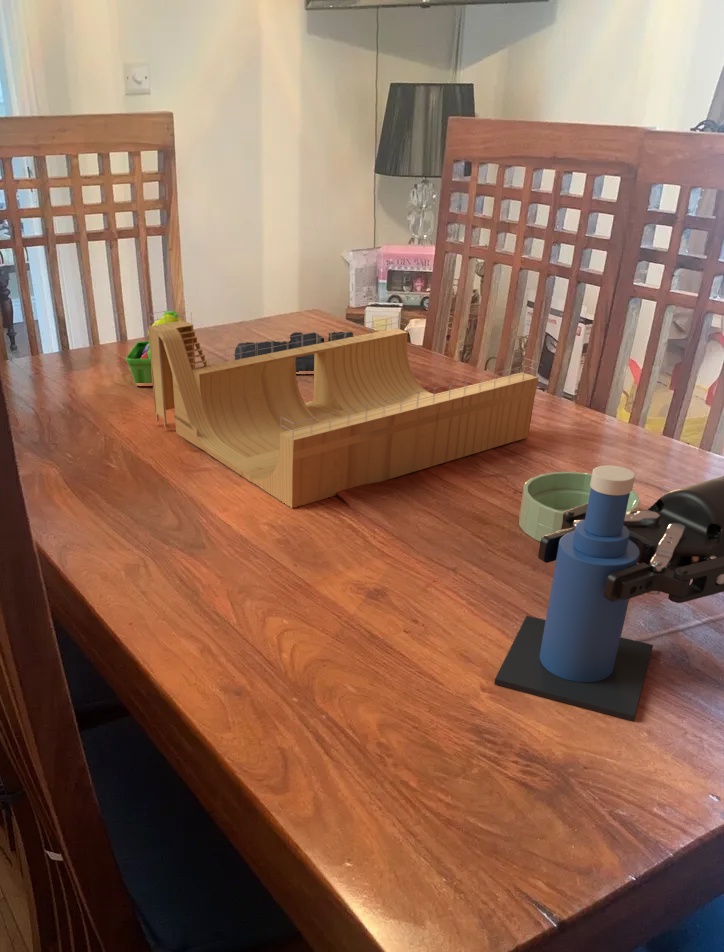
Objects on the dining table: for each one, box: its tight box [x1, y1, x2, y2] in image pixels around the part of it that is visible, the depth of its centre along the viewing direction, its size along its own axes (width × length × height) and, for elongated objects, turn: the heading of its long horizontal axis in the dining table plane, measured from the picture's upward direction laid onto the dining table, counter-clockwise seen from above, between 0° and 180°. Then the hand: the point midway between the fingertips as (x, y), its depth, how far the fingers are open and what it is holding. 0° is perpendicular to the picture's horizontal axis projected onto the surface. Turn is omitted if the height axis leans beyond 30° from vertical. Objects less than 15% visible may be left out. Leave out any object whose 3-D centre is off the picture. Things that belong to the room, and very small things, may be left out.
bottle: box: [540, 464, 640, 682], centre depth 69 cm, size 6×6×17 cm
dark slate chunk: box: [233, 330, 355, 372], centre depth 153 cm, size 15×22×5 cm
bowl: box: [518, 471, 641, 542], centre depth 95 cm, size 12×12×4 cm
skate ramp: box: [148, 308, 540, 509], centre depth 119 cm, size 40×35×16 cm
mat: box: [493, 615, 654, 722], centre depth 73 cm, size 11×11×1 cm
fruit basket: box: [125, 310, 182, 384], centre depth 144 cm, size 11×9×11 cm
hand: (574, 568), depth 67 cm, fingers open, 6 cm apart
